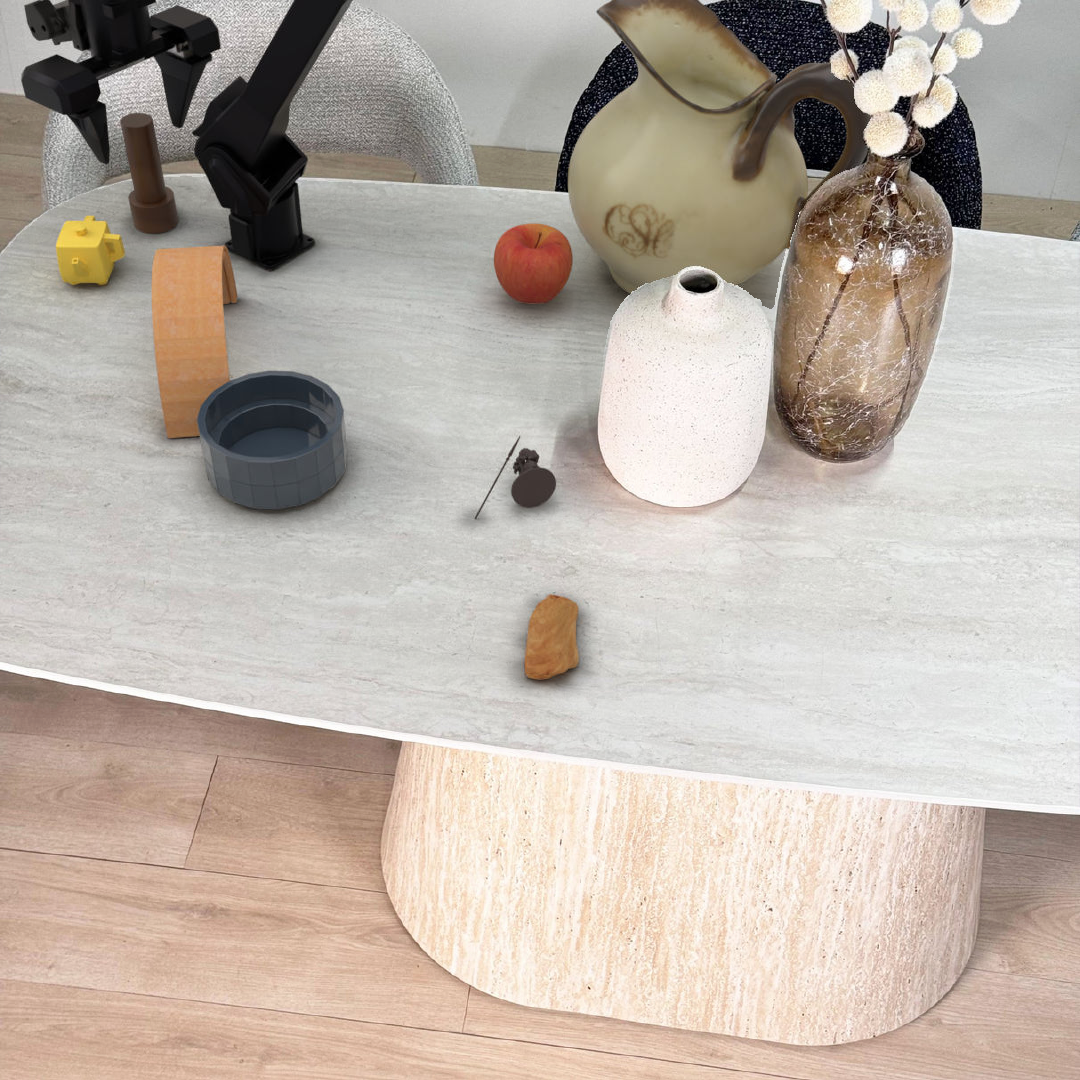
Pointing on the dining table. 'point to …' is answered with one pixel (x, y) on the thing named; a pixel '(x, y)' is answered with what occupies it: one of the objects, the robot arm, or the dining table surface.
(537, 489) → the dark disc and stick
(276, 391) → the bowl
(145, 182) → the muddler
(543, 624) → the brown rounded lump
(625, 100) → the pitcher
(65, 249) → the teapot
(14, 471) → the dining table surface
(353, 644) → the dining table surface
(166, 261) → the arch
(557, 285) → the apple
